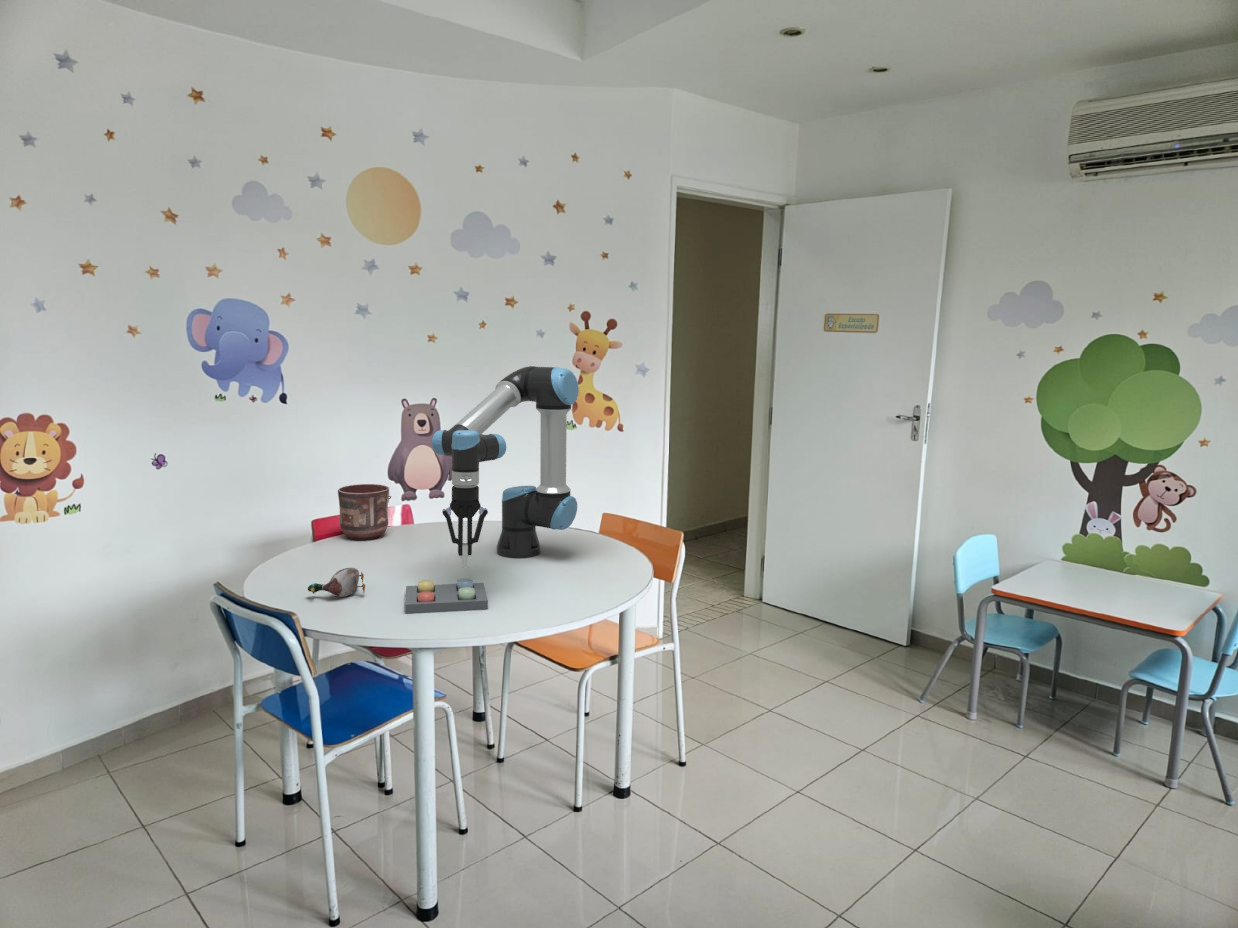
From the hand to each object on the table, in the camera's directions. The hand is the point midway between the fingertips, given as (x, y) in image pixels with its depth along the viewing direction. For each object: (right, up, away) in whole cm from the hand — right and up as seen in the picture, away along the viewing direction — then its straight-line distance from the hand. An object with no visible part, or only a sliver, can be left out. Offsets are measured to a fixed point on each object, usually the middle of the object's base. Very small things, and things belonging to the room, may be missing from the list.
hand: (464, 566), depth 224 cm
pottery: (-49, +3, +63) cm, 80 cm away
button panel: (-5, -9, -4) cm, 11 cm away
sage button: (+2, -9, -6) cm, 11 cm away
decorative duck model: (-36, -8, 0) cm, 37 cm away
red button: (-9, -10, -9) cm, 16 cm away
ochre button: (-11, -8, -1) cm, 13 cm away
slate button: (0, -7, +1) cm, 8 cm away
